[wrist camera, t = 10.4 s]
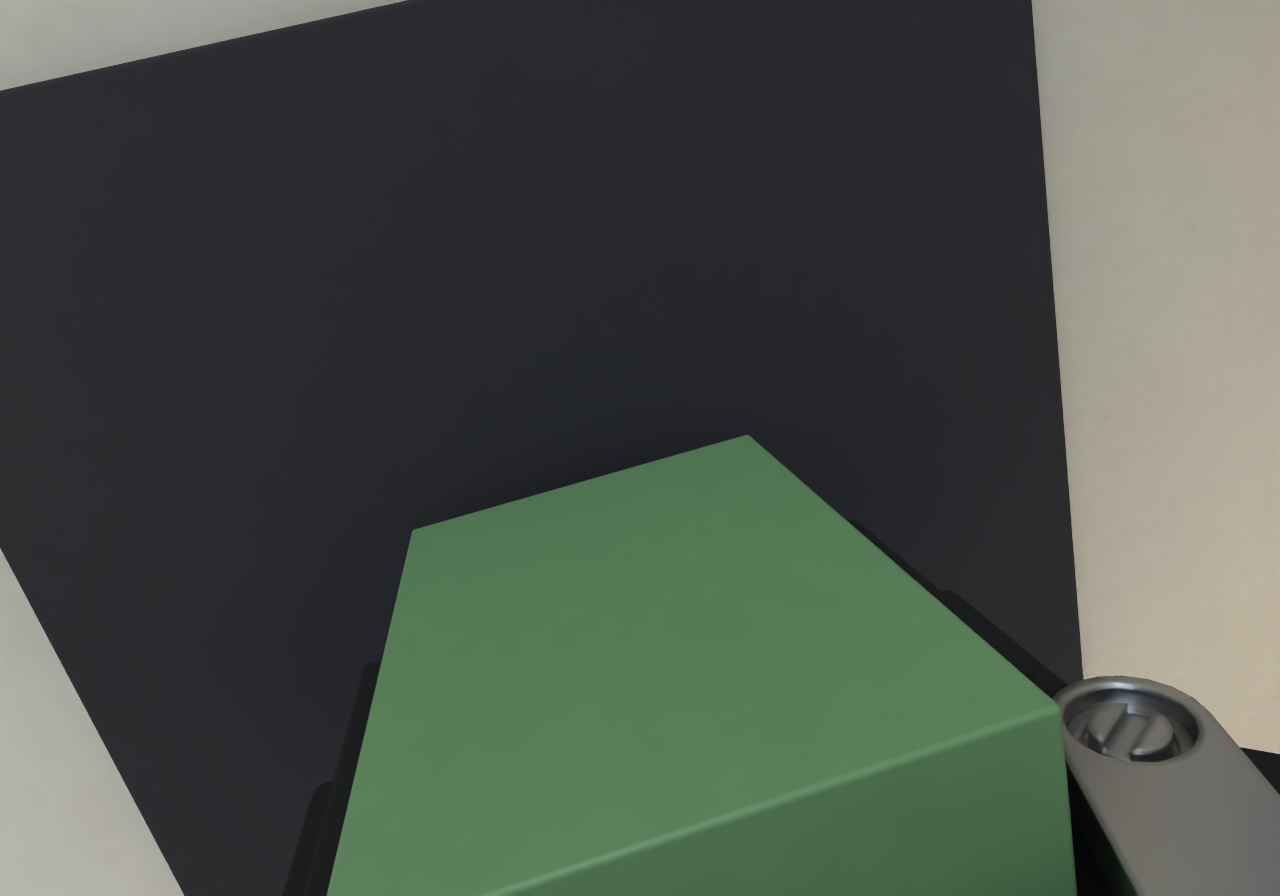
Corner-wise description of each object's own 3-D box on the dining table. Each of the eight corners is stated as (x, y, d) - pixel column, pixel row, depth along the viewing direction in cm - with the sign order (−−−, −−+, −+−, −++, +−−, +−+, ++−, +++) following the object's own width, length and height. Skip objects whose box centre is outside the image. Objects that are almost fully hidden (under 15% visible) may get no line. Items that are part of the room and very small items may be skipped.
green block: (411, 529, 12) (308, 955, 5) (748, 432, 12) (1064, 705, 5) (510, 810, 13) (533, 1422, 7) (806, 715, 14) (1105, 1194, 7)
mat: (-181, 141, 10) (-222, 137, 10) (998, -122, 12) (1023, -138, 11) (322, 1116, 16) (317, 1149, 15) (1079, 850, 17) (1099, 871, 17)
